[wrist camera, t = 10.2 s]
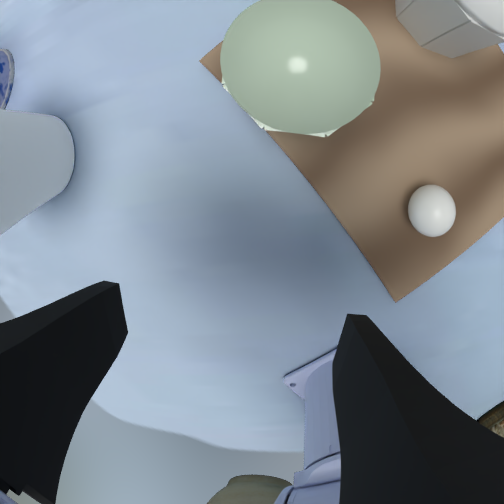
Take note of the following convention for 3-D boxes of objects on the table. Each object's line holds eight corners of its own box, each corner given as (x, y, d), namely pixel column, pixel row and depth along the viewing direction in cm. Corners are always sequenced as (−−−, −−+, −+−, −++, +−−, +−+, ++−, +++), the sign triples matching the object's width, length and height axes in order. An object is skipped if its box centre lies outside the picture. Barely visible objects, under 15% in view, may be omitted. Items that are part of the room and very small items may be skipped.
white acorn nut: (482, 38, 11) (541, 20, 5) (436, 69, 12) (499, 50, 6) (429, -27, 9) (472, -67, 3) (377, -2, 11) (413, -52, 5)
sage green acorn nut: (366, 96, 14) (409, 79, 8) (290, 152, 16) (291, 165, 10) (301, 24, 13) (306, -29, 7) (226, 80, 15) (189, 53, 9)
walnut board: (548, 165, 13) (552, 166, 13) (393, 299, 19) (395, 302, 19) (404, -58, 9) (406, -61, 8) (201, 62, 15) (199, 60, 14)
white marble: (448, 209, 16) (471, 224, 13) (414, 236, 17) (433, 254, 14) (428, 170, 15) (451, 179, 12) (392, 198, 16) (410, 212, 13)
